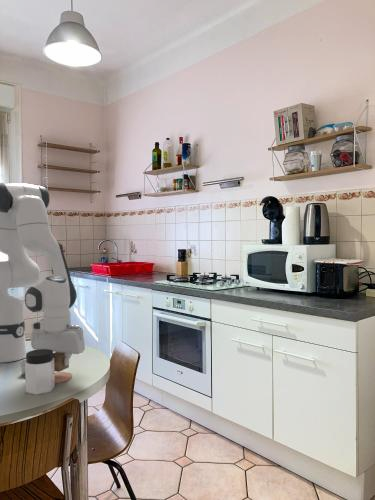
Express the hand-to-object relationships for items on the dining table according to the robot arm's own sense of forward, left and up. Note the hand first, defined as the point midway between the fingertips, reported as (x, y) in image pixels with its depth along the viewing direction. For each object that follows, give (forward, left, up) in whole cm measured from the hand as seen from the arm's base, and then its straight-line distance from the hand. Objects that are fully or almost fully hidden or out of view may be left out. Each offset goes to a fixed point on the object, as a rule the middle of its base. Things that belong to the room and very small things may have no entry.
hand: (58, 364), depth 140 cm
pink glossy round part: (0, 0, -5) cm, 5 cm away
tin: (-13, 0, -5) cm, 14 cm away
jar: (+1, -10, -5) cm, 11 cm away
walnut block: (0, 0, -2) cm, 2 cm away
